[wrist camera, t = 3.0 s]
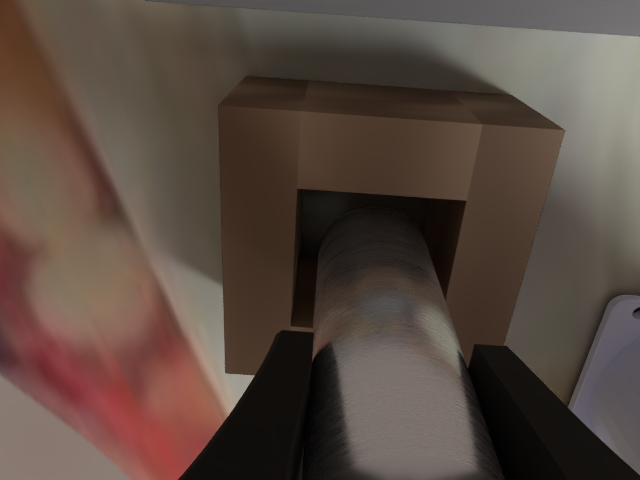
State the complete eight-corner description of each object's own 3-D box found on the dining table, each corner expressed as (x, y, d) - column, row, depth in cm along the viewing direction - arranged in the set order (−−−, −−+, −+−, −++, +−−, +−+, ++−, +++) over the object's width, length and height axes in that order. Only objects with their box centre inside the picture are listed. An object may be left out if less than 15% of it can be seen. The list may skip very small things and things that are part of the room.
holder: (511, 95, 15) (565, 130, 12) (461, 314, 19) (490, 391, 15) (245, 76, 15) (218, 105, 12) (246, 299, 19) (225, 373, 15)
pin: (435, 210, 14) (542, 466, 6) (418, 304, 15) (491, 602, 8) (322, 201, 14) (304, 448, 6) (315, 296, 15) (294, 587, 8)
